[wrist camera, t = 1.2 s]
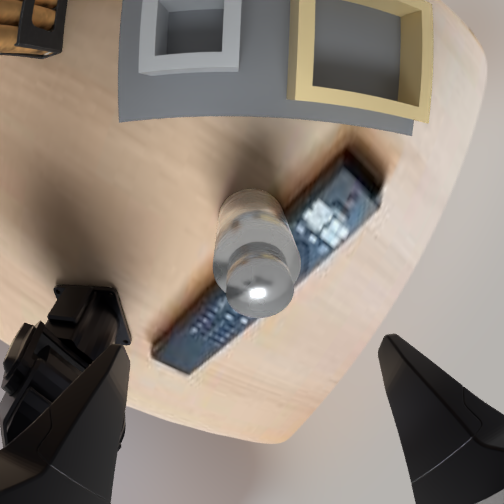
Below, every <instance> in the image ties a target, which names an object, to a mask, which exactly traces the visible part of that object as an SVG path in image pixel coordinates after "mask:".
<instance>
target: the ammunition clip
mask: <svg viewBox="0 0 504 504" xmlns="http://www.w3.org/2000/svg"><path fill="white" fill-rule="evenodd" d="M67 2H68V0H0V55H11V56H21V57H30V58H38V59H44V58H47V57H50V56H53V55H56V54H59V53H61V52H62V46H63V34H64V24H65V16H66V8H67Z"/></svg>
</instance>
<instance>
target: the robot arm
mask: <svg viewBox="0 0 504 504" xmlns="http://www.w3.org/2000/svg"><path fill="white" fill-rule="evenodd" d="M54 293H55V295H56V298H57V301H56V303H55V305H54V306H53V308H52V309H51V311H50V312H49V314H48V316H47V317H48V321H47V323H46V324H44V323H42V322H41V321H39V322H38V323H37V324H36V325H35V326H33V325H30V324H27V323H24V324H23V325H22V327H21V328H20V330H19V331H18V333H17V335H16V336H15V338H14V340H13V341H12V343H11V345H10V348H9V350H8V352H7V354H6V357H5V359H4V361H3V365H4V370H5V372H4V377H3V381H2V385H1V388H2V389H3V390H4V391H6V393H5V395H4V397H3V398H2V401H1V403H0V427H1V436H2V443H3V449H1V450H0V504H111V503H110V502H111V495H112V486H113V479H114V471H115V464H116V458H117V452H118V451H119V449H120V448H121V442H122V440H123V437H124V434H125V408H126V401H127V391H128V381H129V371H130V360H129V357H128V355H127V353H126V350H125V348H124V346H123V345H130V344H131V341H132V339H131V336H130V333H129V330H128V327H127V324H126V321H125V317H124V314H123V311H122V307H121V304H120V300H119V297H118V293H117V291H116V290H115V289H114V288H111V287H91V286H75V285H56V286H55V288H54ZM110 293H112V294H113V295H112V294H110ZM378 358H379V362H380V367H381V371H382V376H383V381H384V386H385V390H386V394H387V397H388V400H389V403H390V407H391V410H392V413H393V416H394V419H395V423H396V427H397V429H398V433H399V437H400V440H401V444H402V448H403V452H404V455H405V459H406V463H407V467H408V471H409V475H410V479H411V483H412V489H413V493H414V498H415V502H416V504H504V415H503V414H502V413H500V412H499V411H497V410H496V409H494V408H492V407H491V406H490V405H488V404H487V403H485V402H484V401H482V400H481V399H479V398H478V397H477V396H475V395H474V394H473V393H471V392H470V391H469V390H468V389H466V388H465V387H463V386H462V385H461V384H460V383H459V382H457V381H456V380H455V379H454V378H452V377H451V376H450V375H449V374H447V373H446V372H445V371H443V370H442V369H441V368H440V367H438V366H437V365H436V364H434V363H433V362H432V361H431V360H429V359H428V358H427V357H426V356H424V355H423V354H422V353H420V352H419V351H418V350H416V349H415V348H414V347H413V346H411V345H410V344H409V343H407V342H406V341H405V340H403V339H402V338H401V337H400V336H398V335H397V334H389V335H385V336H384V338H383V341H382V343H381V345H380V348H379V350H378Z"/></svg>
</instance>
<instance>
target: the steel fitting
mask: <svg viewBox="0 0 504 504" xmlns="http://www.w3.org/2000/svg"><path fill="white" fill-rule="evenodd" d="M300 268H301V259H300V255H299V252H298V249H297V246H296V244H295V241H294V239H293V236H292V233H291V231H290V228H289V225H288V223H287V220H286V218H285V215H284V213H283V210H282V208H281V205H280V204H279V202H278V201H277V200H276V198H275V197H273V196H272V195H271V194H269V193H267V192H265V191H263V190H259V189H244V190H241V191H238V192H236V193H234V194H232V195H231V196H230V197H228V198H227V199H226V201H225V202H224V203H223V205H222V207H221V209H220V212H219V217H218V225H217V233H216V242H215V250H214V259H213V273H214V277H215V279H216V282H217V283H218V285H219V286H220V287H221V289H222V290H223V291H224V292H226V296H227V300H228V302H229V304H230V306H231V307H232V308H233V309H234V310H235V311H237V312H238V313H240V314H242V315H244V316H247V317H252V318H264V317H269V316H272V315H275V314H277V313H279V312H280V311H282V310H283V309H284V308H286V306H287V305H288V304H289V303H290V301H291V299H292V297H293V293H294V285H293V284H294V283H295V282H296V280H297V278H298V276H299V273H300Z"/></svg>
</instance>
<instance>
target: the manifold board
mask: <svg viewBox="0 0 504 504" xmlns="http://www.w3.org/2000/svg"><path fill="white" fill-rule="evenodd" d="M432 76H433V14H432V4H430V3H428V2H426V1H424V0H123V3H122V12H121V24H120V38H119V61H118V107H119V122H128V121H137V120H148V119H160V118H175V117H198V116H253V117H276V118H291V119H303V120H314V121H323V122H332V123H340V124H347V125H354V126H361V127H367V128H373V129H379V130H384V131H390V132H395V133H400V134H405V135H409V136H412V131H413V123H414V120H416V121H420V122H424V123H429V114H430V104H431V92H432Z"/></svg>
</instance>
